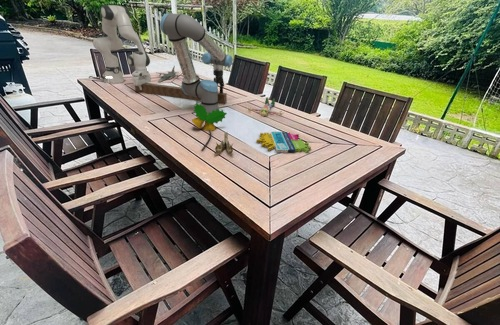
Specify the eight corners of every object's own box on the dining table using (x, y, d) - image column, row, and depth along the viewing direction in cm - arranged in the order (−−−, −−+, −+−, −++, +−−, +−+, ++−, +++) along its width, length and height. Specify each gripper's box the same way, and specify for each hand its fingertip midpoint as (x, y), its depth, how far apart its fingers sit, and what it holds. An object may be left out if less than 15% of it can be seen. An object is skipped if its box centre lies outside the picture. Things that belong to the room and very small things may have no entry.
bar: (226, 102, 216) (226, 93, 212) (224, 104, 211) (224, 94, 207) (139, 90, 231) (138, 81, 227) (135, 91, 226) (134, 82, 223)
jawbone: (234, 135, 144) (233, 125, 135) (233, 160, 138) (232, 151, 129) (217, 135, 144) (216, 125, 135) (216, 160, 138) (214, 150, 129)
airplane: (150, 75, 286) (149, 65, 281) (179, 74, 299) (178, 64, 294) (157, 84, 258) (155, 73, 253) (188, 82, 271) (187, 72, 266)
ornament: (218, 133, 171) (224, 110, 169) (221, 134, 163) (227, 111, 161) (186, 125, 162) (192, 101, 160) (189, 126, 155) (195, 101, 153)
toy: (287, 99, 210) (283, 109, 184) (286, 108, 213) (282, 119, 187) (254, 95, 215) (245, 104, 189) (253, 104, 218) (244, 114, 192)
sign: (313, 150, 142) (258, 149, 139) (312, 153, 143) (258, 152, 140) (301, 132, 164) (254, 130, 161) (301, 134, 165) (254, 133, 162)
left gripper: (145, 70, 229) (147, 86, 236) (130, 74, 212) (133, 91, 218) (151, 70, 228) (153, 86, 235) (137, 74, 210) (139, 92, 217)
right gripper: (219, 66, 213) (219, 92, 224) (207, 72, 192) (208, 100, 203) (227, 67, 212) (227, 93, 223) (217, 73, 191) (217, 101, 202)
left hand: (143, 89), depth 226 cm, fingers closed on bar, 5 cm apart
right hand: (218, 96), depth 213 cm, fingers open, 13 cm apart
